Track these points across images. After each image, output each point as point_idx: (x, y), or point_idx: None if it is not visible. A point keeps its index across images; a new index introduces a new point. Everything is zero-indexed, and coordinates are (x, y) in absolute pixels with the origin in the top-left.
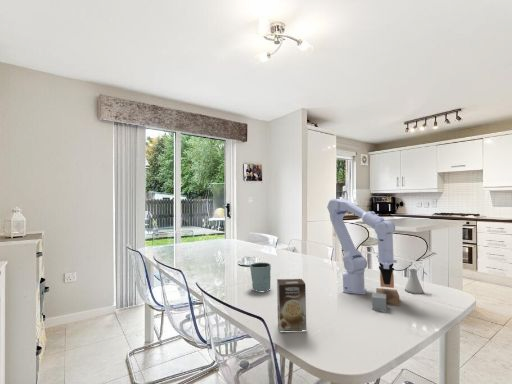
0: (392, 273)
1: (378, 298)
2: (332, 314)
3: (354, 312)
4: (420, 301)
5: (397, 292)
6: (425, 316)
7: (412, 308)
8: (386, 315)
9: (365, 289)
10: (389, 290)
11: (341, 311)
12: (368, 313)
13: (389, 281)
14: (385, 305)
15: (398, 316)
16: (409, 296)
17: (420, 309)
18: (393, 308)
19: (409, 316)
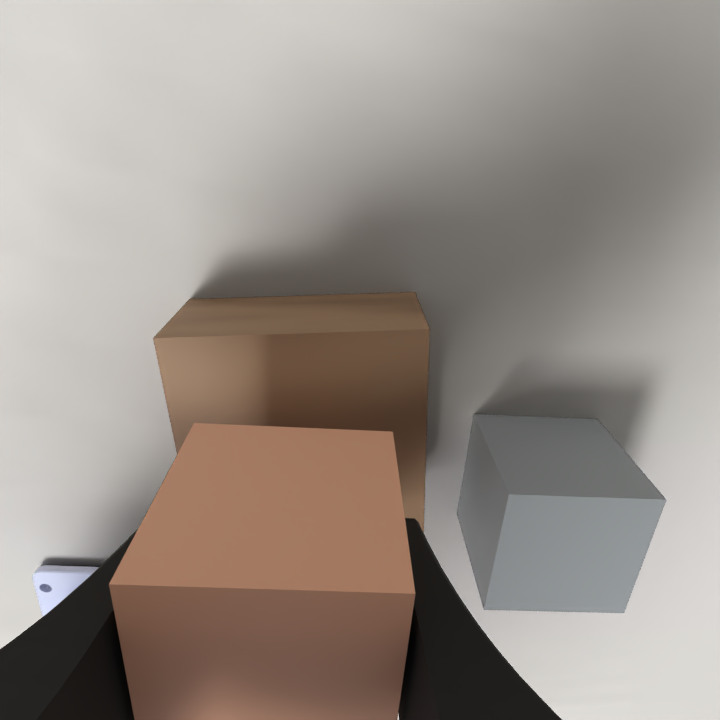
0: (225, 601)
1: (639, 557)
2: (683, 715)
3: (639, 618)
4: (187, 10)
5: (275, 337)
6: (701, 47)
7: (474, 163)
8: (687, 423)
9: (80, 576)
10: (228, 423)
11: (627, 681)
12: (652, 541)
13: (433, 560)
14: (623, 458)
15: (707, 330)
16: (41, 138)
17: (488, 68)
18: (510, 357)
19: (705, 229)
